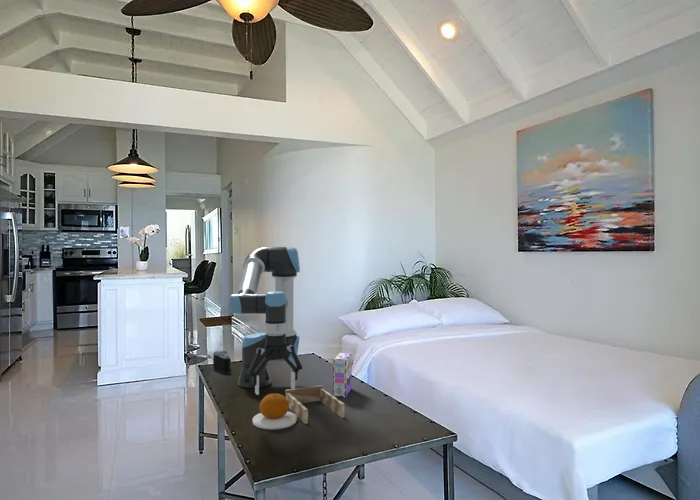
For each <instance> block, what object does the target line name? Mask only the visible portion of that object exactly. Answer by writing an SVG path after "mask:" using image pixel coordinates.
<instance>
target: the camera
mask: <svg viewBox="0 0 700 500" xmlns="http://www.w3.org/2000/svg"><path fill="white" fill-rule="evenodd" d="M212 354H213V360H212V361H213V367H212V368H213V369H214V370H216V371H220V372H221V373H224V374H225V373H226V374H227V373H231V365H232V360H231V357H230V355H229V353H228V351H227V350H226V349H220V350H214V352H213V353H212Z"/></svg>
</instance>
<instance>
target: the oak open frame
mask: <svg viewBox="0 0 700 500" xmlns="http://www.w3.org/2000/svg"><path fill="white" fill-rule="evenodd" d="M284 391H285V392H284V393H285V394H284V397H285V398H286V399H287V401H288V403H289V409H288V410H290V412H292V413H294V414H295V415H296V416H297V419H299V420H300V421H302V423H303V424H304V425H307V424H308V423H309V409H308V408H307V407H306V406H305V405H304V404H306V403H313V402H321V403H322V404H323V405H325V406H326V407H327V408H328V409H330V410H331V411H332V412H333V413H334V414H336V415H338V416H339V418H341V419H343V418H345V416H346V415H345V413H346V412H345V411H346V407H345V404H346V403H344V402H343V401H341V400H339V399H338V397H334V396H333V394H332V393H330V392H328V391H327V390H325V389H324V388H323V385H322V384H321V385H320V384H319V385H312V386H304V387H297V388H296V387H295V390H293V389H292V388H290V389H285V390H284Z"/></svg>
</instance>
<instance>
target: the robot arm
mask: <svg viewBox="0 0 700 500" xmlns="http://www.w3.org/2000/svg"><path fill="white" fill-rule="evenodd" d="M242 270H243V273H242V275H241V276H242V277H241V279H240V283H239V286H238V290H237V293H233V294H232V293H231V294H230V295H229V297H228V310H229V313H231V314H239V315H243V314H248V315H249V314H263V315H264V314H265V322H264V323H265V324H264V325H265V326H264V327H265V328H264V329H265V330H264V332H256V333H251V334H248V335H245V336H243V338H242V342H241V343H242V345H241V348H242V349H241V370H240V372H239V373H240V374H239V377H238V380H237V385H238V386H239V387H241V388H246V389H247V388H248V389H249V388H250V389H254V394H255V395H256V396H259V395H260V388H263V387H266V386H269V385H270V384H271V383H272V381H271V379H272V377H271V375H270V371H269V368H268V363H269V362H286V364H287V365H288V366H289V367H290V368H291V369H292V370H290V389H293V390H295V389H296V381H297V380H298V372H299V371H300V370H303V365H302V364H301V362H300V359H299V357H298V352H299V344H300V335H297V333H298V332H297V331H296V330H295V329H294V283H295V282H294V280H295V278H296V277H297V276H298V273H300V271H301V267H300V257H299V251H298V249H297V248H296V247H293V246H292V247H291V246H263V247H259V248H257V249H255V250H253V251H251V253H249V254H248V255H247V256H246V258H245V259H244V262H243V264H242ZM263 273H271V277H272V278H273V279H274V291H273V290H272V291H268V292H266V293H264V294H263V293H258V289H259V285H260V280H261V275H263ZM292 361H294V362H292ZM294 363H295V364H294Z"/></svg>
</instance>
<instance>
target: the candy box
mask: <svg viewBox="0 0 700 500" xmlns="http://www.w3.org/2000/svg"><path fill="white" fill-rule="evenodd" d="M352 357H353V353H351V352H339V353H338V354H337V355H336V356H335V357H334V358H333V360H332V364H333V365H332V367H333V368H332V371H333V372H332V395H333V396H334V397H335V398H346V397H347V396H348V394H349V393H350V392H351V390H352V389H353V384H352V383H353V382H352V381H353V377H352V375H353V373H352V371H353V369H352V368H353V367H352V366H353V358H352Z"/></svg>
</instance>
